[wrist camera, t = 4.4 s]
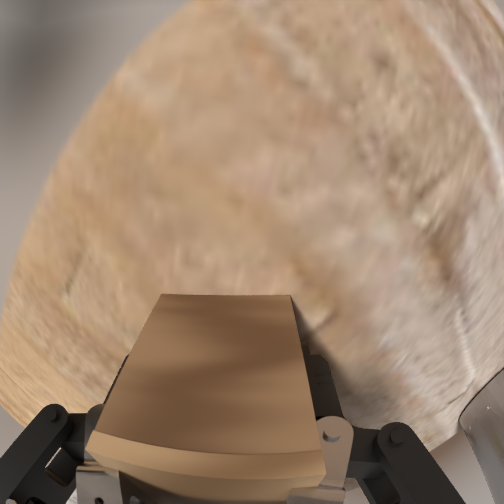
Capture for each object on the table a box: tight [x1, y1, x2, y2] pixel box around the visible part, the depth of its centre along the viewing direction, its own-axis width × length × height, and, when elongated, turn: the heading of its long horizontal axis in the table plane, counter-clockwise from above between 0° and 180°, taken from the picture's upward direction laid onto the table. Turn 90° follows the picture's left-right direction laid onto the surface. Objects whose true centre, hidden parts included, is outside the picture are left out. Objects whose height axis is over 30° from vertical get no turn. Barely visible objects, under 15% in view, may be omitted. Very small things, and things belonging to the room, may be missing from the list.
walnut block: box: [85, 294, 326, 504], centre depth 8 cm, size 5×5×7 cm
